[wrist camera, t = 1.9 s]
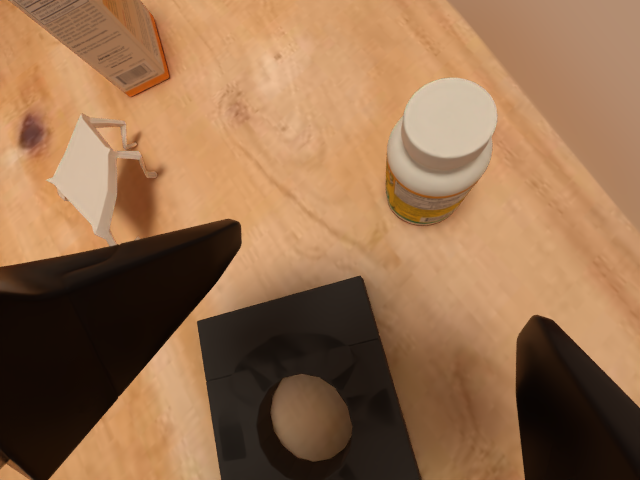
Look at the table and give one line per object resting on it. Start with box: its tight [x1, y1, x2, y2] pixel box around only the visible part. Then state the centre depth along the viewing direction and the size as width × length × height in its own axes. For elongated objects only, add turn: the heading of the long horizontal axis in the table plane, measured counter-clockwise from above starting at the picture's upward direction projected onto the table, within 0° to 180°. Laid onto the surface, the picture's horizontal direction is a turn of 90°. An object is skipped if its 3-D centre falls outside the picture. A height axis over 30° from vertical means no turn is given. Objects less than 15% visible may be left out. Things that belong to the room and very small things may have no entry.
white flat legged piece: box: [47, 114, 157, 246], centre depth 25 cm, size 12×8×5 cm
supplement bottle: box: [386, 78, 497, 225], centre depth 18 cm, size 5×5×10 cm
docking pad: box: [197, 276, 422, 480], centre depth 20 cm, size 16×12×2 cm
